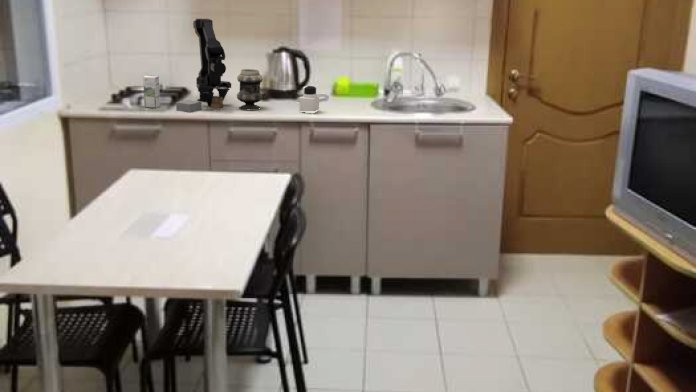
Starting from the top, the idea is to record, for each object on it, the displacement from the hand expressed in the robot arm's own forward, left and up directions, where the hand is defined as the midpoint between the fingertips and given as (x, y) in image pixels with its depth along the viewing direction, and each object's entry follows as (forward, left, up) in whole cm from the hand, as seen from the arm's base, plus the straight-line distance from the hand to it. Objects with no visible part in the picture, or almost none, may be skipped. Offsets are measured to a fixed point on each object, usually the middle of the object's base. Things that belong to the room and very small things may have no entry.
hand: (215, 105), depth 348 cm
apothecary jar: (-8, +14, -1) cm, 16 cm away
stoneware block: (+12, -6, -2) cm, 14 cm away
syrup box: (+16, -24, -1) cm, 29 cm away
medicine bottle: (-17, +41, -1) cm, 44 cm away
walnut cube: (0, 0, -1) cm, 1 cm away
